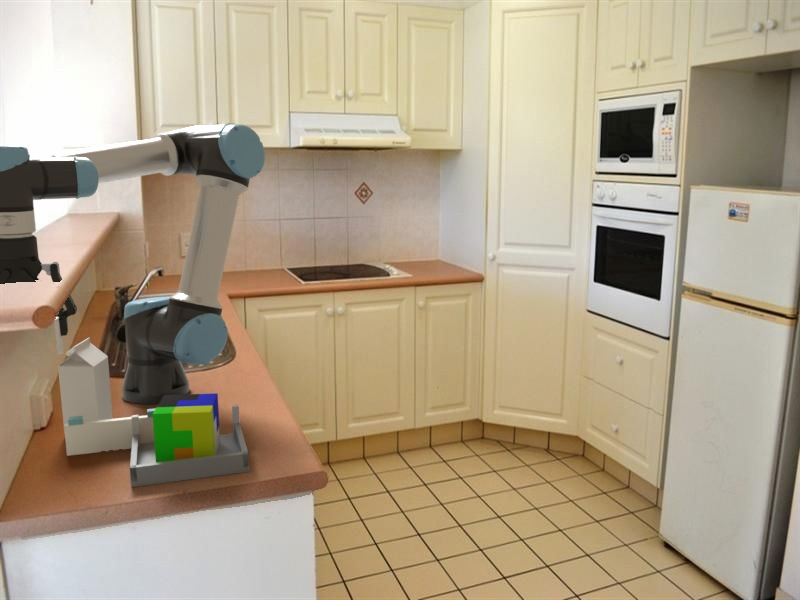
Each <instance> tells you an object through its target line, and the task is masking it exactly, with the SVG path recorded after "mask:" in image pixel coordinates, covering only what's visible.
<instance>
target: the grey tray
mask: <svg viewBox="0 0 800 600" xmlns="http://www.w3.org/2000/svg"><path fill="white" fill-rule="evenodd" d="M239 407H240V406H239V404H232V405H231V409H232V410H231V413H232V414H231V415H232V432H231V433H224V434H220V443H219V447H218V450H217V453H216V455H213V456H205V457H197V458H189V459H181V460H173V461H165V462H157V463H156V457H155V442H152V443H144V444H140V430H139V416H140V415H139V414H132V415H131V417H132V431H133V438H132V448H131V449H130V451H131V452H130V463H129V472H130V474H129V476H130V488H135V487H143V486H150V485H155V484H156V485H157V484H164V483H173V482H182V481H187V480H194V479H202V478H203V479H204V478H208V477H209V478H211V477H219V476H224V475H232V474H233V475H235V474H238V473H239V474H240V473H247V472H248V473H249V472H250V463H249V462H250V459H249V450H248V447H247V445H246V441H245V438H244V434H243V431H242V428H241V424H240V408H239Z"/></svg>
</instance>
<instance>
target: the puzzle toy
mask: <svg viewBox="0 0 800 600" xmlns="http://www.w3.org/2000/svg"><path fill="white" fill-rule="evenodd" d="M218 396H219V394H218V393H194V394H193V393H190V394H189V393H188V394H183V395H164V396H163V398H162V399H161V401H160V403H157V406H156V407H155V408H156V409H155V411H154V412H153V428H154V442H155V457H156V463H157V462H165V461H173V460H181V459H189V458H197V457H205V456H213V455H216V453H217V450H218V447H219V443H220V435H221V433H220V415H219V414H220V413H219V411H220V410H219V397H218Z"/></svg>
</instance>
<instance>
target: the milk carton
mask: <svg viewBox="0 0 800 600" xmlns="http://www.w3.org/2000/svg"><path fill="white" fill-rule="evenodd" d="M65 356H67V358H66V359H64V361H62V362H60V364H58V366H57V372H58V380H59V381H58V382H59V390H60V392H59V393H60V399H61V400H60V401H61V410H62V411H61V412H62V422H63V426H64V425H65V424H67V423H68V418H69V417H75V416H83V422H87V421H96V420H106V419H114V417H113V404H112V391H111V380H110V379H111V378H110V366H109V356H108V355H107V354H106V353H104V352H103V351H102V350H101V349H99V348H98V347H96V346H95V345H94V344H93V343H91V337H87V338H86V339H84V340H82V341H81V342H79V343H78V344H76V345H74V346H73V347H71V348H70V349H69V350H67V351H66V352H65ZM63 433H64V435H65V431H64V430H63Z"/></svg>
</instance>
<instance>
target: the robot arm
mask: <svg viewBox="0 0 800 600" xmlns="http://www.w3.org/2000/svg"><path fill="white" fill-rule="evenodd" d="M265 156H266V153H265V147H264V145H263V142H262V141H261V138H260V136H259V134H258V133H257V132H256V131H255V130H254V129H252V128H251V127H249V126H248V125H244V124H238V123H237V124H235V123H234V122H233V123H225V124H223V123H222V124H219V123H218V124H196V125H193V126H192V125H191V126H188V127H184V128H180V129H176V130H172V131H167V132H161V133H157V134H155V135H153V136H152V138H149V139H142V140H136V141H135V140H134V141H128V142H121V143H114V144H104V145H99V146H92V147H85V148H84V147H83V148H75V149H69V150H61V151H60V150H59V151H55V152H49V153H40V154H34V155H33V154H32V155H30V154H29V149H28V148H27V147H26V146H24V145H0V284H5V283H16V282H36V281H35V280H40V279H39V277H38V276H39V275H40V273H41V272H42V271H44V272H45V274H46V275H48V276H50V277H51V280H52V283H53V282H60V281H61V280H62V279H63V278H62V276H61V272H60V265H59V262H58V261H54V262H52V263H51V262H50V263H42V262H41V260H40V258H39V250H38V249H39V246H38V238H37V237H36V235H34V233H36V231H37V227H36V218H35V208H34V207H35V206H34V201H36V200H37V201H38V200H58V199H59V200H60V199H76V200H77V199H81V198H89V197H92V196H94V195H95V193H96V192H97V190H98V188H99V184H102V183H103V184H104V183H109V182H115V181H120V180H121V181H122V180H127V179H132V178H136V177H143V176H149V175H150V176H151V175H154V174H155V175H156V174H161V175H163V176H165V177H167V176H168V177H169V176H174V175H175V176H176V175H191V176H195V179H196V181H197V182H198V184H199V186H200V188H199V193H198V199H197V204H196V208H195V213H194V217H193V221H192V225H191V231H190V235H189V240H188V244H187V249H186V253H185V258H184V263H183V268H182V273H181V277H180V282H179V287H178V290H177V292H175V293H174V294H172V295H170V296H154V297H147V298H141V299H135V300H131V301H128V302H127V303H126V304H124V305H125V306H124V310H123V311H124V312H123V321H124V329H125V330H124V331H125V343H126V344H125V345H126V356H127V368H126V371H125V375H124V378H123V382H122V386H121V397H122V399H123V400H125V401H126V402H128V403H132V404H139V405H153V404H156V405H157V404H159V403H160V401H161V399H162V398H163V396H164V395H183V394H189V393H190V382H189V378H188V376H187V374H186V371H185V369H184V366H183V364H188V365H197V366H198V365H201V366H202V365H205V364H209V363H210V362H212V361H214V359H215V358H217V357H218V356H220V354H221V353H222V352H223V351H224V348H225V346H226V343H227V340H228V336H229V335H228V333H229V332H228V327H227V326H226V322H225V320H224V319H223V318H222V314H223V313H222V312H223V306H222V304H221V303H220V301H219V299H218V298H219V293H220V288H221V284H222V279H223V273H224V269H225V264H226V260H227V256H228V251H229V250H228V249H229V246H230V241H231V237H232V231H233V227H234V222H235V218H236V212H237V208H238V203H239V199H240V196H241V195H242V194H243V193H245V192H247V191H248V189H249V184H250V179H253V178H254V177H256V176H257V175H259V174H260V172H261V171H262V170H263V168H264V165H265V160H266V159H265ZM63 304H64V306H65V308H64V307H63V306H62V308H61V309H60V311H59V314H58V315H56V316H55V318H56V319H55V318H54V320H53V323H54V334H55V335H54V336H55V345H56V354H57V355H58V356H61V355H62V356H63V353H64V340H63V336H67V335H68V333H69V325H68V317H71V316H74V315H76V313H77V311H78V308H77V305H76V303H75V301H74V299H73V297H72V296H71V294H70V295H69V297H68V298H67V300H66V301H65V303H64V302H63Z"/></svg>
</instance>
